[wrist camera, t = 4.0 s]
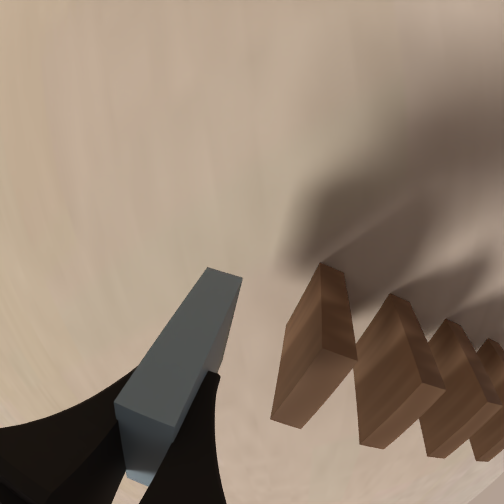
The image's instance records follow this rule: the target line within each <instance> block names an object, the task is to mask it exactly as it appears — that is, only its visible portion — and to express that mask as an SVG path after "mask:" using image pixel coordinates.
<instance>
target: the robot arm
mask: <svg viewBox="0 0 504 504" xmlns="http://www.w3.org/2000/svg"><path fill="white" fill-rule="evenodd" d="M137 367H138V366H137ZM137 367H136V368H137ZM136 368H134V369H133V370H132V371H131V372H129V373H128V374H127V375H125V376H124V377H122V378H121V379H119V380H118V381H117V382H115V383H114V384H112V385H111V386H109V387H108V388H106V389H104V390H103V391H101V392H99V393H98V394H96V395H95V396H93V397H91V398H89V399H87V400H85V401H84V402H82V403H80V404H77V405H75V406H73V407H71V408H69V409H67V410H64V411H62V412H59V413H57V414H54V415H52V416H49V417H46V418H43V419H39V420H36V421H32V422H29V423H25V424H21V425H16V426H10V427H5V428H0V504H112V501H113V499H114V496H115V494H116V492H117V489H118V487H119V485H120V482H121V480H122V478H123V476H124V474H125V471H126V465H125V460H124V454H123V449H122V443H121V436H120V430H119V423H118V420H117V419H116V415H115V408H114V401H115V399H116V398H117V396H118V395H119V393H120V392H121V390H122V389H123V387H124V386H125V384H126V383H127V381H128V380H129V379H130V377H131V376H132V374H133V373H134V371H135V370H136ZM219 381H220V375H219V374H217V373H214V372H211V371H208V372H207V374H206V376H205V377H204V379H203V381H202V383H201V385H200V388H199V390H198V392H197V394H196V396H195V398H194V400H193V402H192V404H191V406H190V408H189V411H188V413H187V415H186V417H185V419H184V421H183V423H182V425H181V427H180V429H179V432H178V434H177V436H176V438H175V440H174V442H173V443H171V445H170V447H169V449H168V451H167V453H166V455H165V457H164V459H163V461H162V463H161V465H160V467H159V468H158V470H157V472H156V474H155V476H154V478H153V480H152V482H151V483H150V485H149V487H148V489H147V491H146V492H145V494H144V496H143V498H142V499H141V501H140V503H139V504H226V500H225V496H224V492H223V488H222V484H221V479H220V474H219V468H218V461H217V454H216V443H215V401H216V393H217V388H218V385H219Z"/></svg>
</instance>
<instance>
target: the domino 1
mask: <svg viewBox="0 0 504 504" xmlns="http://www.w3.org/2000/svg"><path fill="white" fill-rule="evenodd" d="M242 279H243V278H242V277H238V276H235V275H232V274H228V273H225V272H222V271H218V270H215V269H212V268H208V267H207V269H206V270H205V271H204V273H203V274H202V276H201V277H200V278H199V280H198V281H197V283H196V284H195V285H194V287H193V288H192V290H191V291H190V292H189V294H188V295H187V297H186V298H185V299H184V301H183V302H182V304H181V305H180V306H179V308H178V309H177V311H176V312H175V314H174V315H173V316H172V318H171V319H170V321H169V322H168V324H167V325H166V326H165V328H164V329H163V331H162V332H161V334H160V335H159V336H158V338H157V339H156V341H155V342H154V344H153V345H152V346H151V348H150V349H149V351H148V352H147V354H146V355H145V357H144V358H143V359H142V361H141V362H140V364H139V365H138V367H137V368H136V370H135V371H134V373H133V374H132V376H131V377H130V379H129V380H128V381H127V383H126V384H125V386H124V387H123V389H122V390H121V392H120V393H119V395H118V396H117V398H116V399H115V401H114V408H115V415H116V419H117V420H118V423H119V430H120V436H121V443H122V449H123V454H124V460H125V465H126V474H127V478H130V479H132V480H134V481H136V482H139V483H141V484H144V485H146V486H149V485H150V483H151V482H152V480H153V478H154V476H155V474H156V472H157V470H158V468H159V467H160V465H161V463H162V461H163V459H164V457H165V455H166V453H167V451H168V449H169V447H170V445H171V443H173V442H174V440H175V438H176V436H177V434H178V432H179V429H180V427H181V425H182V423H183V421H184V419H185V417H186V415H187V413H188V411H189V408H190V406H191V404H192V402H193V400H194V398H195V396H196V394H197V392H198V390H199V388H200V385H201V383H202V381H203V379H204V377H205V376H206V374H207V372H208V371H211V372H214V373H218V370H219V367H220V365H221V362H222V360H223V355H224V351H225V347H226V343H227V339H228V335H229V331H230V327H231V323H232V319H233V315H234V311H235V307H236V303H237V299H238V295H239V291H240V287H241V283H242Z"/></svg>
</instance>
